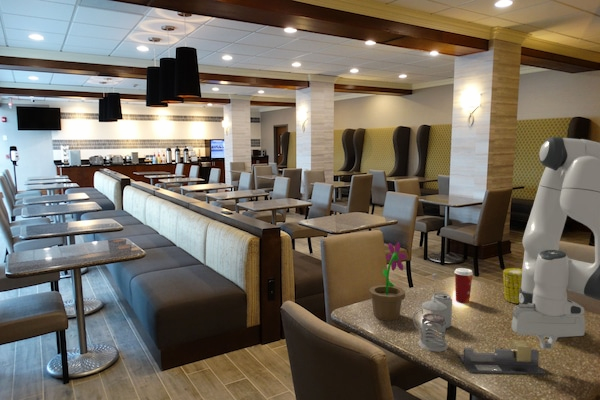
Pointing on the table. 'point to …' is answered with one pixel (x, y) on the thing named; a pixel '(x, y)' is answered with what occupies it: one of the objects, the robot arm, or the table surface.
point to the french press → (427, 336)
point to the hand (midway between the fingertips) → (546, 348)
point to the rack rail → (500, 362)
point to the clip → (521, 350)
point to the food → (512, 284)
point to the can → (446, 313)
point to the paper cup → (463, 284)
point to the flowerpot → (388, 290)
